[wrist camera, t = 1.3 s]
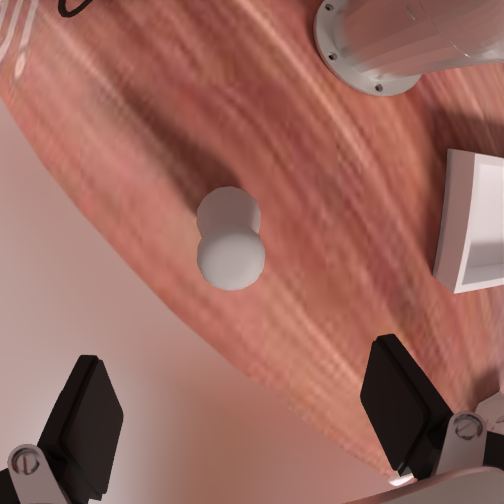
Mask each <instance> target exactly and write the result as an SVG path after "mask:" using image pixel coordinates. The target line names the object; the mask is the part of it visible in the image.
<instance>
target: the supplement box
mask: <svg viewBox="0 0 504 504" xmlns="http://www.w3.org/2000/svg"><path fill="white" fill-rule="evenodd" d="M474 413H477V414H478V415H480V416H481V417H482V418H483V419H484V420H485V423H486V425H487V431H491V432H495V433H499V434H502V435H504V394H503V393H502V392H501V391H499V392H497V393H496V394H494V395H493V396H491V397H489V398H487V399H486V400H484V401H482V402H480V403H478V405H477V408H476V410H475V412H474Z"/></svg>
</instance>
